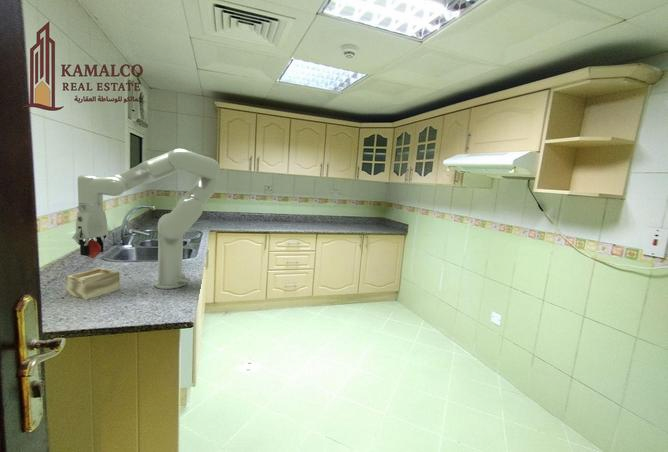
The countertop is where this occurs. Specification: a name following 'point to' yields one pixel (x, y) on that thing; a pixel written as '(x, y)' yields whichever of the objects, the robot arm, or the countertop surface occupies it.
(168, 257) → the robot arm
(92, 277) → the birch box
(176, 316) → the countertop surface
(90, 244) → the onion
